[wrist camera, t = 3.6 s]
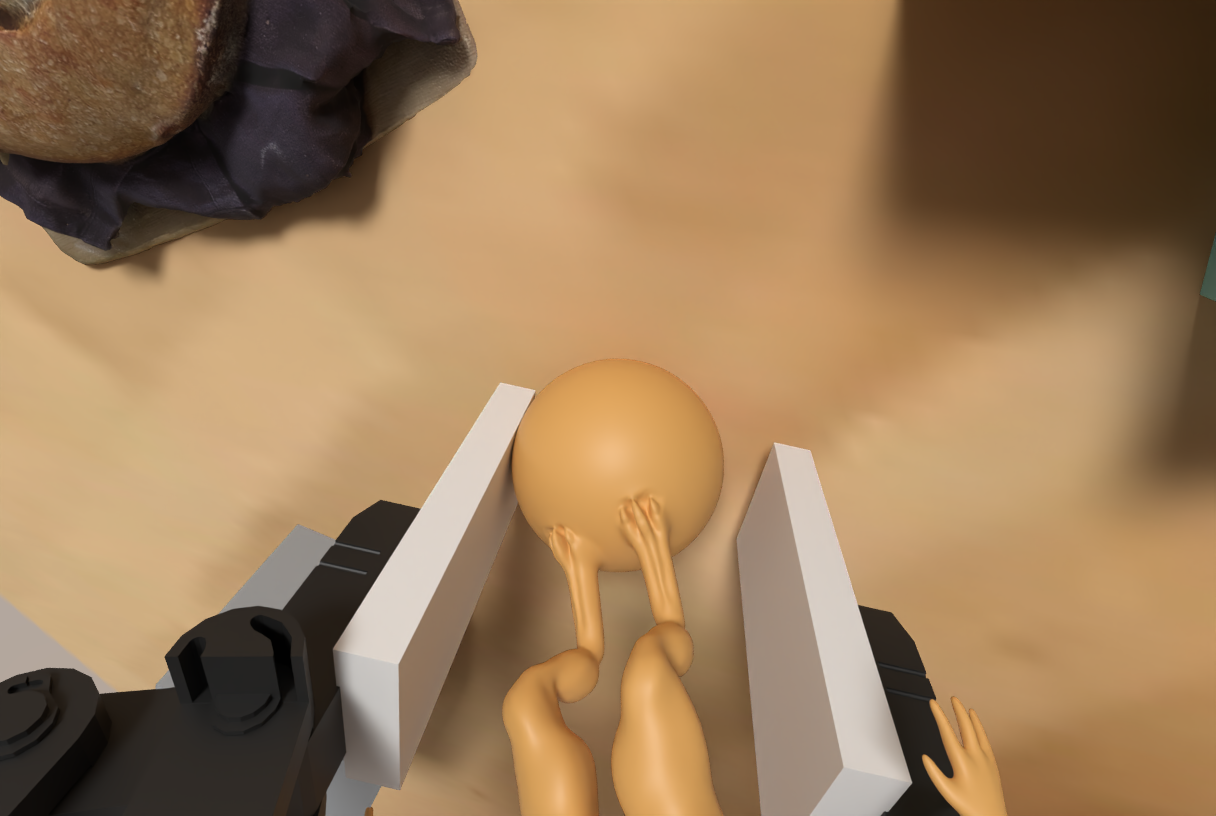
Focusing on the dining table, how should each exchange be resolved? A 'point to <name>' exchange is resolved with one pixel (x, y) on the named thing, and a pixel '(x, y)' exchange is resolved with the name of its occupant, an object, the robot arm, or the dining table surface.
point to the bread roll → (204, 106)
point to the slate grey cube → (275, 591)
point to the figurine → (648, 539)
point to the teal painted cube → (1210, 276)
